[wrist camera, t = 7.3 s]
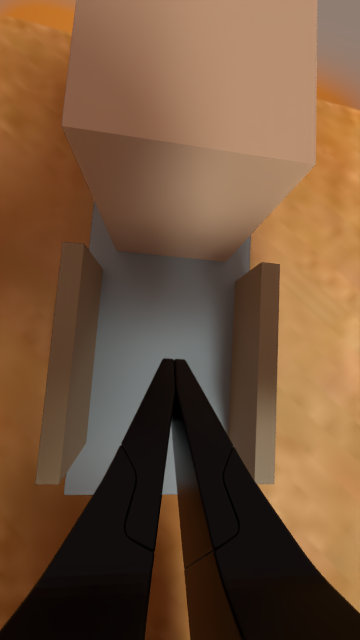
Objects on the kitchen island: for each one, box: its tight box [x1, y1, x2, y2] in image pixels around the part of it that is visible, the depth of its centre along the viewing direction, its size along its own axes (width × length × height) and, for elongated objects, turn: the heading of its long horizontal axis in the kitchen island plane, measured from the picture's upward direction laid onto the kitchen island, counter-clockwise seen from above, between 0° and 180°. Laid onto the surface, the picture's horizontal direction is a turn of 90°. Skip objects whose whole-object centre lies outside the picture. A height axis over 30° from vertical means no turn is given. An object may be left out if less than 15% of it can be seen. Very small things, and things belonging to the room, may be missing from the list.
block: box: [61, 0, 317, 262], centre depth 11 cm, size 9×8×9 cm
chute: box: [35, 201, 280, 495], centre depth 14 cm, size 26×11×5 cm, turn 176°
